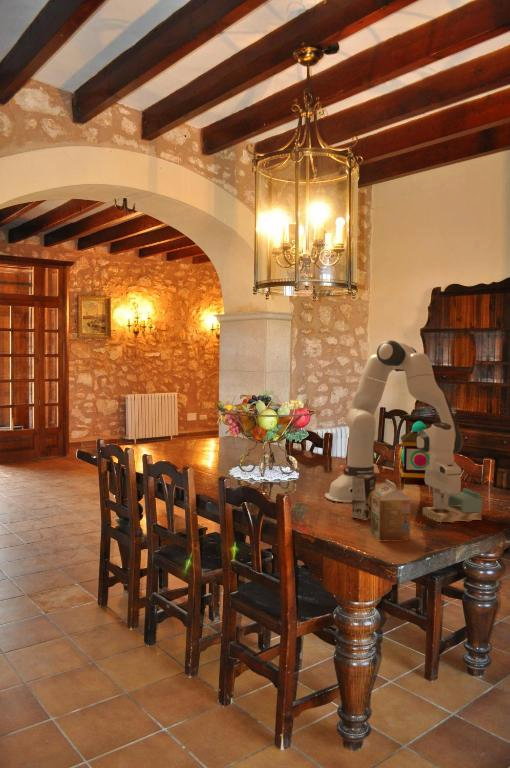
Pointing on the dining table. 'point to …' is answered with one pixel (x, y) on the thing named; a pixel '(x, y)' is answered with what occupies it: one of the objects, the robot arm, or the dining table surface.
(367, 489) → the coffee box
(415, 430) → the decorative lantern
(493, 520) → the dining table surface
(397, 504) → the milk carton
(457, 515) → the housing base
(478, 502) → the cover
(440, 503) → the jaw block
